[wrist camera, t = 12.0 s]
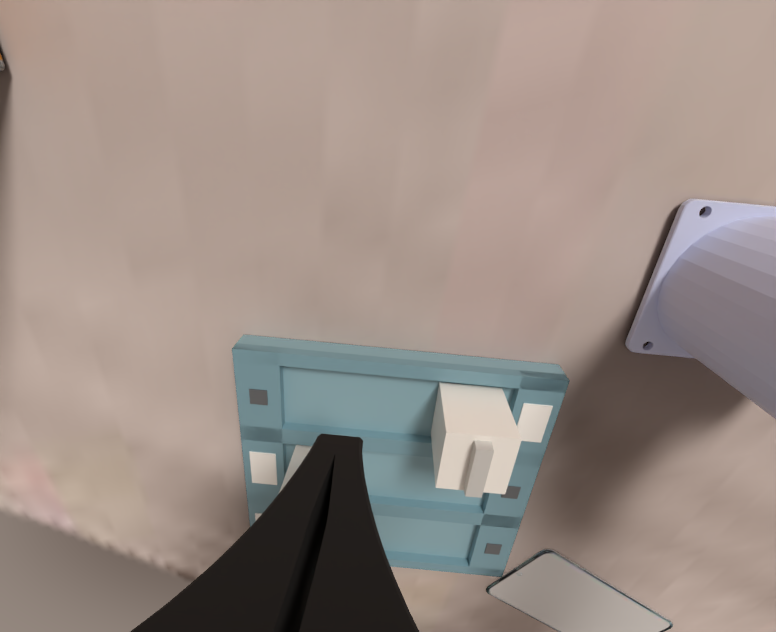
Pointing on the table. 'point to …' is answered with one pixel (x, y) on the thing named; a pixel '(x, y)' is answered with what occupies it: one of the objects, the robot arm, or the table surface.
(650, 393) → the table surface
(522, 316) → the table surface
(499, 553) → the switch board
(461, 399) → the tab
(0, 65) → the hard drive box
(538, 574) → the smartphone
